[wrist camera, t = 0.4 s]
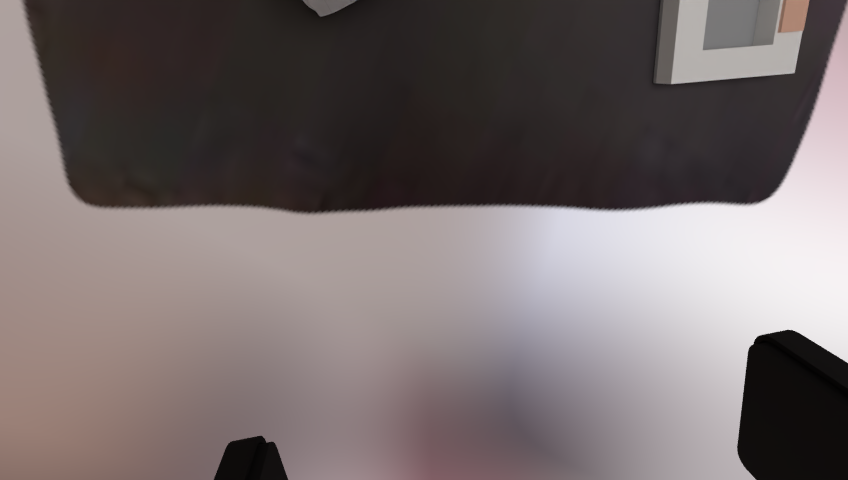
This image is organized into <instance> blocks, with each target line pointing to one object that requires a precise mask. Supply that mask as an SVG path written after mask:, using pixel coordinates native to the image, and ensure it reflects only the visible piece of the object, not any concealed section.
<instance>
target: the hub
mask: <svg viewBox="0 0 848 480" xmlns="http://www.w3.org/2000/svg"><path fill="white" fill-rule="evenodd" d="M808 4H809V0H661V2H660V13H659V24H658V35H657V46H656V57H655V68H654V79H653V83H658V84H678V83H689V82H700V81H711V80H723V79H734V78H745V77H756V76H767V75H779V74H790V73H795V67H796V62H797V57H798V52H799V46H800V41H801V36H802V31H804V25H805V20H806V15H807V10H808Z"/></svg>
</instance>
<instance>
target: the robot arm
mask: <svg viewBox="0 0 848 480" xmlns="http://www.w3.org/2000/svg"><path fill="white" fill-rule="evenodd" d="M737 448H738V455H739V458H740V460H741V462H742V463H743V465H744V467H745V468H746V469H747V470H748V471H749V472H750V473H751V474H752V476H753V477H754V478H755V479H756V480H848V363H847V362H845V361H843V360H842V359H840V358H839V357H837V356H835V355H834V354H832V353H830V352H829V351H827V350H826V349H824V348H822V347H821V346H819V345H817V344H816V343H814V342H813V341H811V340H809V339H808V338H806V337H804V336H803V335H801V334H800V333H797V332H795V331H793V330H785V331H780V332H775V333H770V334H765V335H761V336H758V337H757V338H756V339H755V341H754V344H753V345H752V346H751V347H750V348H749V351H748V358H747V367H746V376H745V384H744V393H743V402H742V411H741V420H740V428H739V438H738V446H737ZM214 480H288V478H287V475H286V473H285V470H284V467H283V464H282V461H281V458H280V455H279V453H278V450H277V447H276V445H275V443H274V442H268V443H266V441H265V439H264V438H263V437H262V436H257V437H252V438H247V439H242V440H237V441H232V442H230V443H229V444H228V445H227V447H226V449H225V452H224V455H223V457H222V460H221V462H220V465H219V468H218V470H217V473H216V475H215V478H214Z"/></svg>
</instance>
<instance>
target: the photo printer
mask: <svg viewBox="0 0 848 480" xmlns="http://www.w3.org/2000/svg"><path fill="white" fill-rule="evenodd" d="M303 1H304V3H305V4H306V5H307V6H308V7H310V8H311V9H313V10H315V11H316V12H317V13H318V15H319V16H320V17H322V16H326V15H329V14H332V13H334V12H336V11H339V10H340V9H342V8H344V7H346V6H348V5H350V4H351V3H353V2H355V1H357V0H303Z"/></svg>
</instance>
